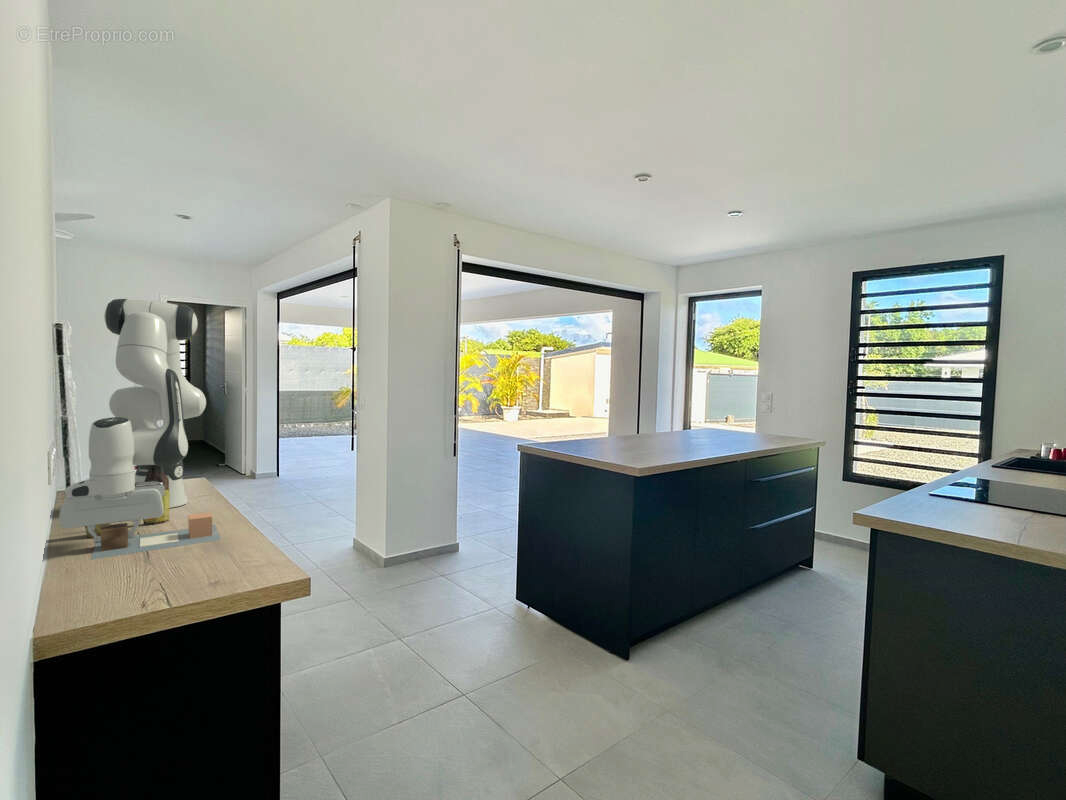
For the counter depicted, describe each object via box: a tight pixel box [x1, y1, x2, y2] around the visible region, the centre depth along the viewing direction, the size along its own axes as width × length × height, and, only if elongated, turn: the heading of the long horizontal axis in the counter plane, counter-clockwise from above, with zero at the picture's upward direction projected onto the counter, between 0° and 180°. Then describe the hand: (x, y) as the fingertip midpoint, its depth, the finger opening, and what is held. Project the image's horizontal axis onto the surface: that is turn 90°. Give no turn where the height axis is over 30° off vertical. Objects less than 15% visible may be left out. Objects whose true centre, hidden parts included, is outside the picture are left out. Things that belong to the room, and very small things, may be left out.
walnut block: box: [101, 522, 129, 551], centre depth 132 cm, size 5×5×5 cm
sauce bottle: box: [142, 465, 170, 526], centre depth 154 cm, size 7×6×20 cm
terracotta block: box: [188, 512, 213, 539], centre depth 143 cm, size 5×5×5 cm
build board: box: [90, 524, 222, 560], centre depth 138 cm, size 26×16×1 cm, turn 125°
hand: (114, 540), depth 132 cm, fingers closed on walnut block, 5 cm apart
